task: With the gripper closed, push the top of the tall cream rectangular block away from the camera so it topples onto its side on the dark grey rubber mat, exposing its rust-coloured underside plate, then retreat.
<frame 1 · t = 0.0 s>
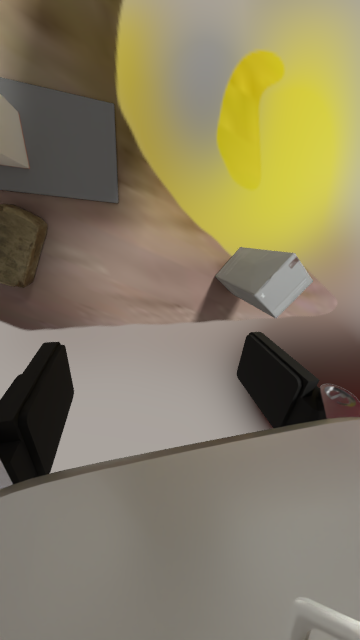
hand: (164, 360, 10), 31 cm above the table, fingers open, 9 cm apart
rubber mat: (42, 145, 28), on the table
skincare box: (234, 268, 43), on the table
stone block: (23, 246, 33), on the table
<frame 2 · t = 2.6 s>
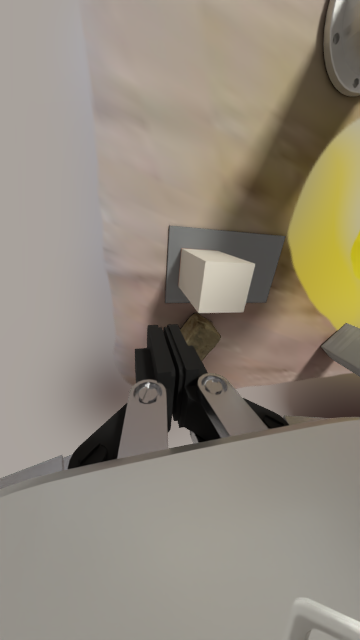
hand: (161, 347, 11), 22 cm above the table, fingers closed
rubber mat: (224, 269, 34), on the table
skincare box: (336, 338, 49), on the table
stone block: (186, 338, 39), on the table
cream rectangular block: (197, 268, 32), resting on rubber mat
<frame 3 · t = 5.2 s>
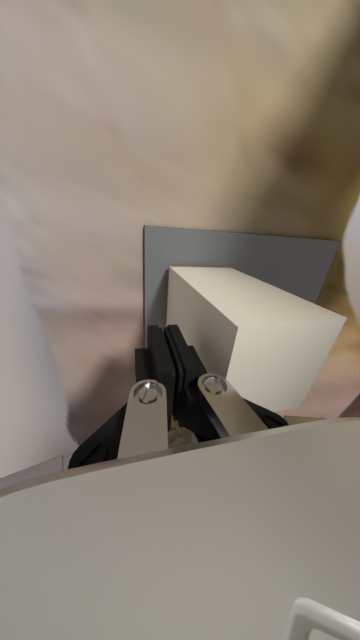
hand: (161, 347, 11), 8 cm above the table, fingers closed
rubber mat: (240, 295, 21), on the table
stone block: (183, 395, 26), on the table
cream rectangular block: (197, 297, 19), point 1 cm above the table, touching gripper, rubber mat
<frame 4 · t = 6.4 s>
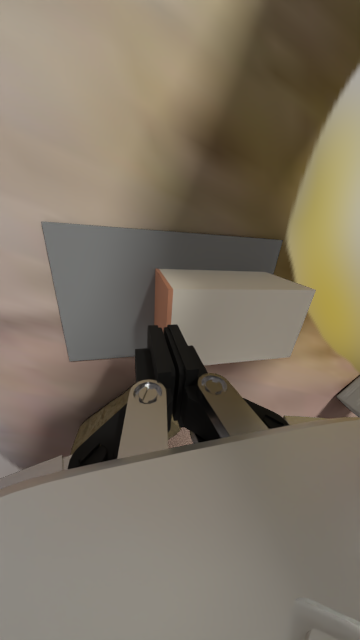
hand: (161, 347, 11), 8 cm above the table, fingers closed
rubber mat: (174, 300, 19), on the table
skincare box: (358, 383, 34), on the table
stone block: (128, 407, 24), on the table
cream rectangular block: (159, 314, 16), point 3 cm above the table, tilted 90°, touching rubber mat
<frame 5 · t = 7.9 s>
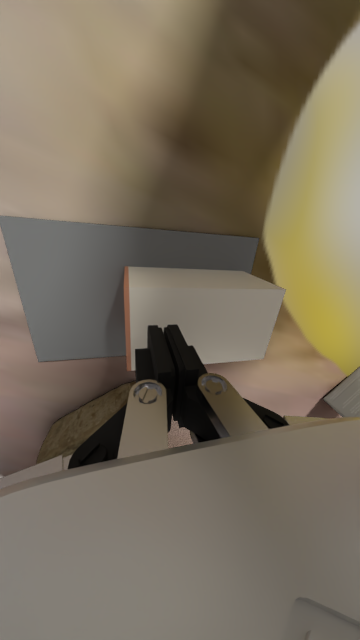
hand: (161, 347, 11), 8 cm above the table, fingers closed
rubber mat: (147, 299, 18), on the table
skincare box: (345, 386, 34), on the table
stone block: (106, 409, 24), on the table
cream rectangular block: (125, 314, 15), point 3 cm above the table, tilted 90°, touching rubber mat
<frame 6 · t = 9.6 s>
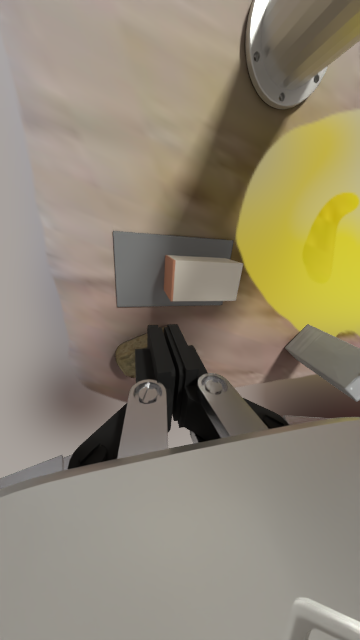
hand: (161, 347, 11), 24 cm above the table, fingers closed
rubber mat: (175, 273, 34), on the table
skincare box: (300, 339, 50), on the table
stone block: (147, 344, 40), on the table
cream rectangular block: (167, 277, 31), point 3 cm above the table, tilted 90°, touching rubber mat
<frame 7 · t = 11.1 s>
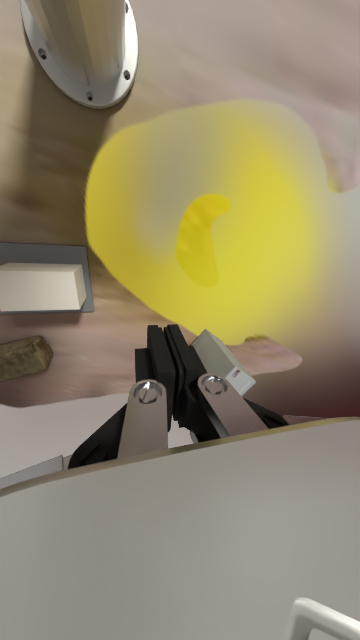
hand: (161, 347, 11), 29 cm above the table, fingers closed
rubber mat: (27, 280, 34), on the table
skincare box: (202, 344, 49), on the table
stone block: (21, 351, 39), on the table
cream rectangular block: (3, 285, 30), point 3 cm above the table, tilted 90°, touching rubber mat
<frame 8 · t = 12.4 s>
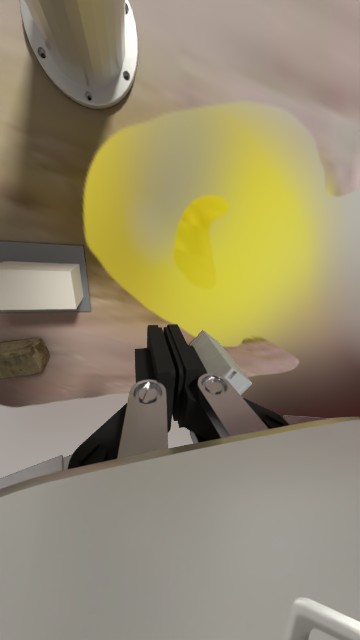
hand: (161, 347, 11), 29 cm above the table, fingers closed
rubber mat: (24, 279, 34), on the table
skincare box: (199, 345, 49), on the table
stone block: (17, 351, 39), on the table
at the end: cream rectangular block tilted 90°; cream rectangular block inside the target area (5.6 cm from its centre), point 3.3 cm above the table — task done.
